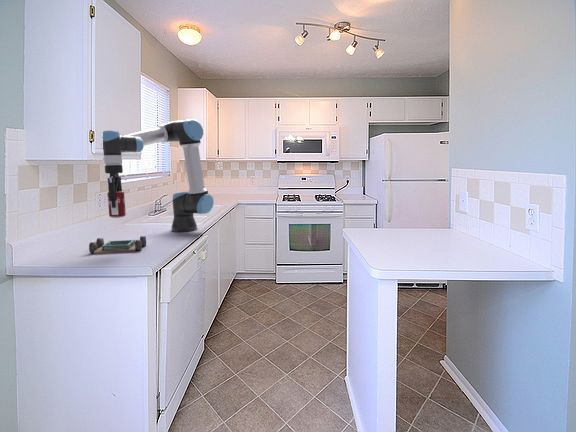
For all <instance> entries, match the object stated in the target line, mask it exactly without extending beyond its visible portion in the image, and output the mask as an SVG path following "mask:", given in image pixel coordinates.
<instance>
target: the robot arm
mask: <svg viewBox="0 0 576 432" xmlns="http://www.w3.org/2000/svg"><path fill="white" fill-rule="evenodd" d="M102 133H103V137H102V136H101V139H102V138H103V148H102V150H103V158H102V160H103V161H104V164H105V166H104V173H105V174H109V177H108V178H107V183H108V188H107V189H108V192H109V199H108V198H107V201H108V200H109V201H111V211H112V215H118V203H117V201H116V200H117V199H116V197H117V194H116V193H117V191H123V188H122V187H123V186H122V177H121V176H120V174H123V171H124V169H123V168H124V167H123V165H122V164H123V159H122V158H123V157H122V156H123V155H122V154H123V153H140V152H142V151H143V149H144V146H149V145H151V144H152V145H153V144H155V143H168V142H171V143H172V142H178V143H179V146H180V147H181V148H182V149H183V155H184V156H183V157H184V161H185V168H186V176H187V181H188V187H189V189H188V191H181V192H174V193H173V194H172V212H173V218H172V219H173V221H172V224H171V228H170V229H171V231H172V232H176V233H177V232H179V233H180V232H192V231H196V230H198V225H197V222H196V220H195V217H194V214H198V215H205V214H208V213H210V212H211V211H212V209H213V208H214V204H215V203H214V197H213V196H212V195H211V194H210V193H209V191H208V189H207V188H206V187H205V179H204V173H203V167H202V162H201V155H200V149H199V146H200V145H201V143H202V142H201V140H202V138H203V136H204V129H203V126H202V124H201V123H200V122H199V121H198V120H196V119H193V118H191V119H189V118H188V119H183V120H182V119H180V120H173V121H169V122H168V123H164V124H159V125H157V126H156V127H155V128H150V129H146V130H141V131H137V132H133V133H128V134H127V133H126V134H123V135H124V136H122V135H121V133H120V131H118V130H104V131H103V132H102Z"/></svg>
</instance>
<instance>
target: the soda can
mask: <svg viewBox="0 0 576 432" xmlns="http://www.w3.org/2000/svg"><path fill="white" fill-rule="evenodd" d="M116 194H117V197H116V199H117V200H116V201H117V203H118V215H112V211H111V201H109V200H108V199H109V191H108V192H107V194H106V195H107V206H108V216H109V218H111V219H117V218H118V219H119V218H120V219H121V218H125V217H127V216H126V215H127V213H126V212H127V211H126V210H127V209H126V200H125V192H124V190H122V191H117V193H116Z"/></svg>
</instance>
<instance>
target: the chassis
mask: <svg viewBox="0 0 576 432" xmlns="http://www.w3.org/2000/svg"><path fill="white" fill-rule="evenodd" d="M146 246H147V237H146V236H145V235H141V236H140V237H139V239H127V240H126V239H125V240H124V239H123V240H109V241H107V242H105V241H104V238H103V237H101V238H99V237H97V239H96V241H94V242H91V241H90V242H89V244H88V250H89V253H90V254H93V255H104V254H107V253H108V254H121V253H122V254H123V253H124V254H126V253H136V252H138V251H142V250H143V247H146ZM108 254H107V255H108Z"/></svg>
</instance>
